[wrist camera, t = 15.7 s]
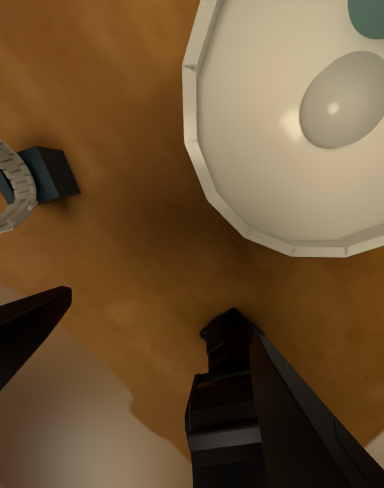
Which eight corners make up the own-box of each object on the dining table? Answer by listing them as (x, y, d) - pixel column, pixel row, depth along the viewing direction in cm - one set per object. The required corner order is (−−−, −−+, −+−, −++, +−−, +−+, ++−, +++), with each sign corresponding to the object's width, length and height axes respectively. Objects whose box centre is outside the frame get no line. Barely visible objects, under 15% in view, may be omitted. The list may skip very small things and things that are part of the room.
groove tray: (562, 101, 15) (645, 83, 12) (294, 285, 22) (307, 301, 19) (408, -279, 10) (488, -458, 7) (132, 120, 17) (117, 109, 15)
